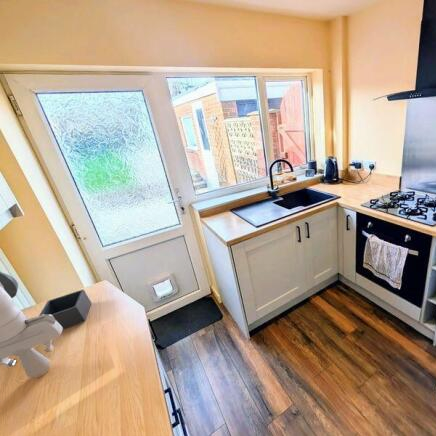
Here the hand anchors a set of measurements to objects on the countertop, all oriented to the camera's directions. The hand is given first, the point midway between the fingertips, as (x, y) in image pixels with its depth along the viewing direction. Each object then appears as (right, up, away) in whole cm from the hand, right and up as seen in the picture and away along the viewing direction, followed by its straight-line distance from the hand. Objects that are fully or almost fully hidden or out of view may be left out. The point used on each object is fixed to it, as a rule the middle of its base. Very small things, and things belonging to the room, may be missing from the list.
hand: (32, 357), depth 79 cm
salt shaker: (0, -7, +3) cm, 7 cm away
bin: (-10, +3, +25) cm, 27 cm away
